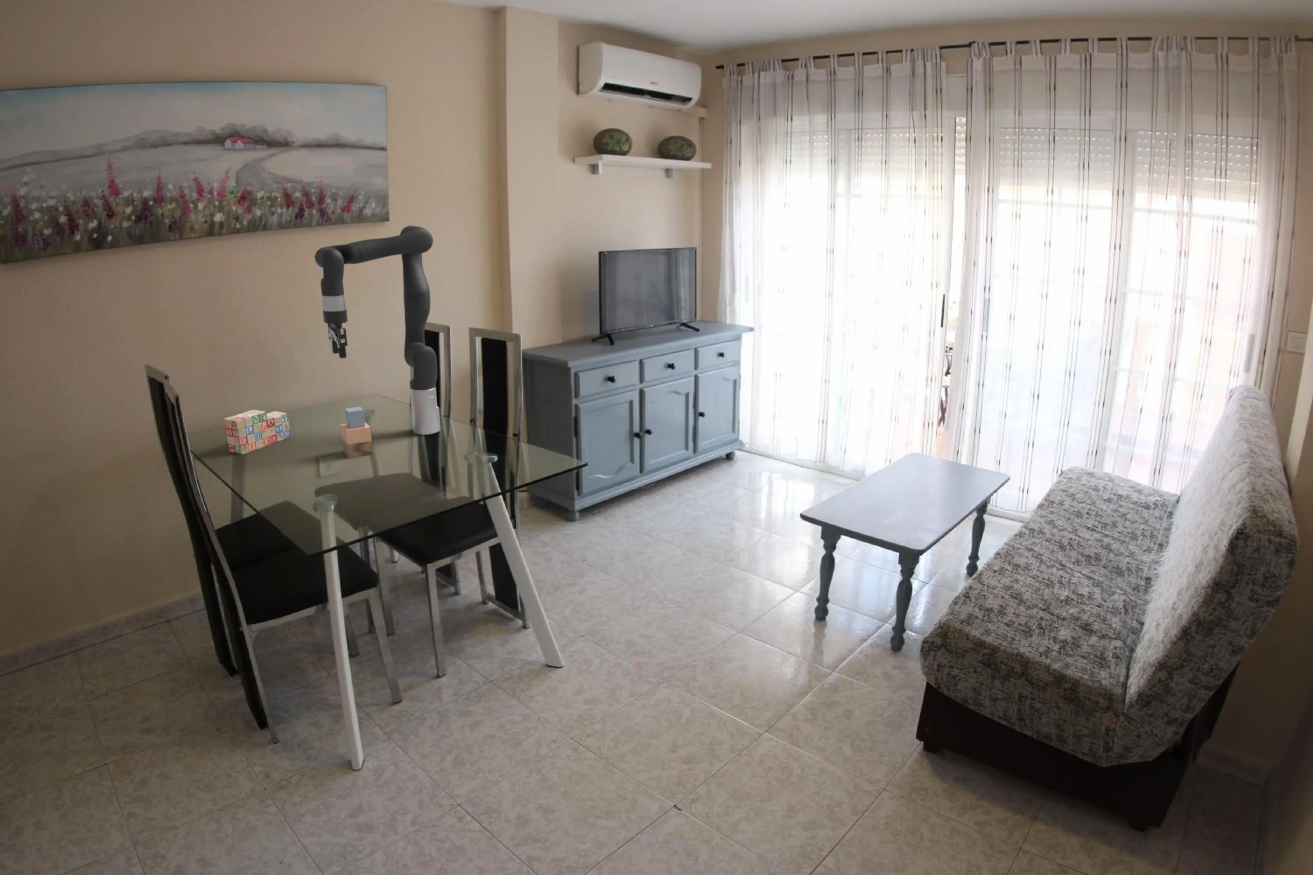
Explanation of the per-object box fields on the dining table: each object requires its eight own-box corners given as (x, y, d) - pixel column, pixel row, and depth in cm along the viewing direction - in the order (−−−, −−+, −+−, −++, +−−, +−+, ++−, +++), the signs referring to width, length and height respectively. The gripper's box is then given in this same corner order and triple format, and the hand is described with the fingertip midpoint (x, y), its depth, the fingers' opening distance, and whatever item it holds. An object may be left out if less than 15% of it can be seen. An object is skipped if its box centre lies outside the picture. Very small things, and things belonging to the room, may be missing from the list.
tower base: (366, 448, 286) (365, 434, 284) (373, 454, 280) (371, 440, 278) (343, 451, 281) (341, 438, 280) (349, 458, 275) (347, 444, 274)
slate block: (361, 423, 280) (360, 406, 279) (365, 426, 276) (363, 410, 275) (346, 425, 278) (345, 408, 276) (350, 428, 274) (348, 412, 272)
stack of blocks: (278, 434, 297) (274, 402, 293) (291, 437, 295) (287, 405, 291) (228, 452, 279) (223, 418, 275) (241, 454, 276) (236, 420, 272)
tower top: (365, 434, 284) (364, 421, 283) (371, 440, 278) (370, 427, 276) (341, 438, 280) (340, 424, 278) (347, 444, 274) (346, 430, 272)
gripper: (351, 310, 267) (356, 358, 272) (340, 304, 278) (345, 350, 283) (328, 312, 263) (333, 361, 268) (317, 306, 274) (322, 352, 279)
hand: (339, 355), depth 276 cm, fingers open, 8 cm apart
